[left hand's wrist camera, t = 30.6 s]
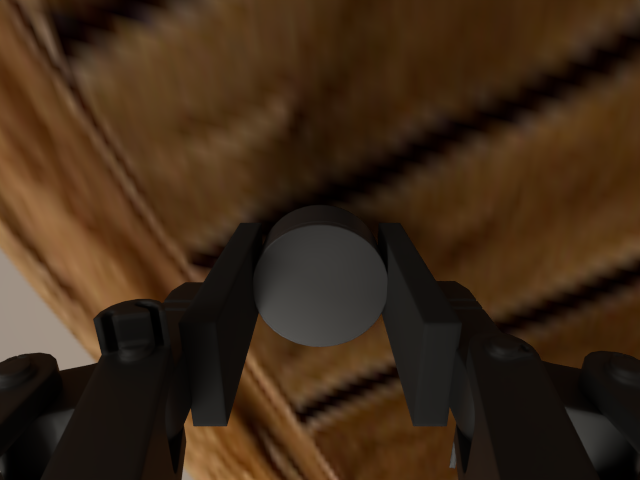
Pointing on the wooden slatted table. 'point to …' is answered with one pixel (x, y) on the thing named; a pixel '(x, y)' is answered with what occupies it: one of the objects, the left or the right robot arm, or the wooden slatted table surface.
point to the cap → (320, 277)
